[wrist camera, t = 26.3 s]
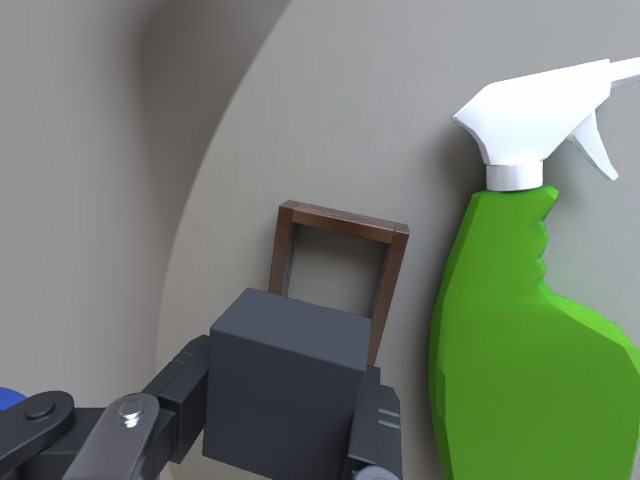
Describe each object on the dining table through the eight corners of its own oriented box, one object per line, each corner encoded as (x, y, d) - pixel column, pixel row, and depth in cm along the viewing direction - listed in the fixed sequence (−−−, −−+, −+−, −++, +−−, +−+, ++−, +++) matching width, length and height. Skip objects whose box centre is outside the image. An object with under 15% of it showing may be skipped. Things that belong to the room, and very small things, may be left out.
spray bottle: (433, 464, 24) (405, 100, 17) (612, 477, 21) (655, 55, 15) (438, 508, 21) (408, 92, 15) (646, 528, 18) (716, 35, 12)
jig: (265, 369, 24) (255, 387, 22) (288, 199, 20) (278, 205, 18) (361, 397, 23) (359, 417, 21) (407, 224, 19) (409, 233, 17)
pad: (236, 396, 13) (201, 456, 11) (247, 286, 11) (209, 327, 9) (343, 429, 12) (332, 500, 10) (372, 318, 11) (366, 370, 8)
